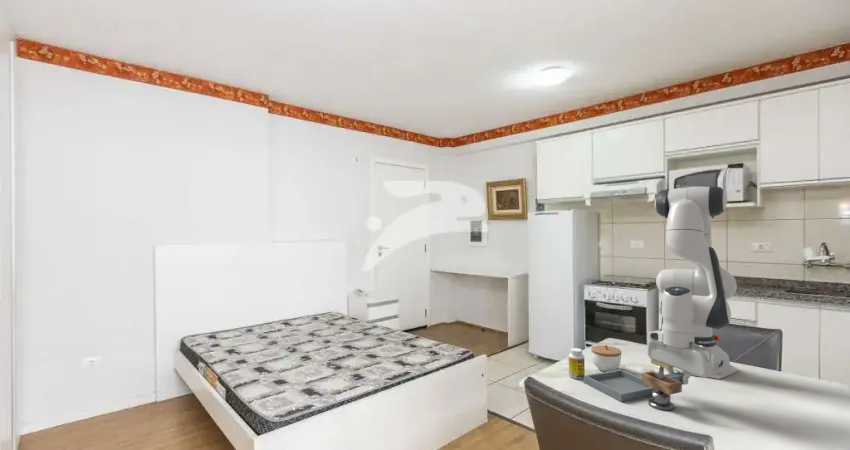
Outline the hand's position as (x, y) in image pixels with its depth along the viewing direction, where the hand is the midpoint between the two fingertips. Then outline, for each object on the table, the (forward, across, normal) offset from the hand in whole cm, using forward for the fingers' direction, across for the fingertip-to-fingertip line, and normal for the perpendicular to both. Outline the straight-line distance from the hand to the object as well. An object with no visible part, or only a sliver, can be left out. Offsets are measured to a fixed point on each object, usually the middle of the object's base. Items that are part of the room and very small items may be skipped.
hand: (678, 381), depth 130 cm
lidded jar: (+7, +31, 0) cm, 32 cm away
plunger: (+6, 0, +8) cm, 10 cm away
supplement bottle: (+7, +29, +16) cm, 34 cm away
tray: (+6, +15, +9) cm, 18 cm away
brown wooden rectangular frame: (+1, 0, +4) cm, 4 cm away
